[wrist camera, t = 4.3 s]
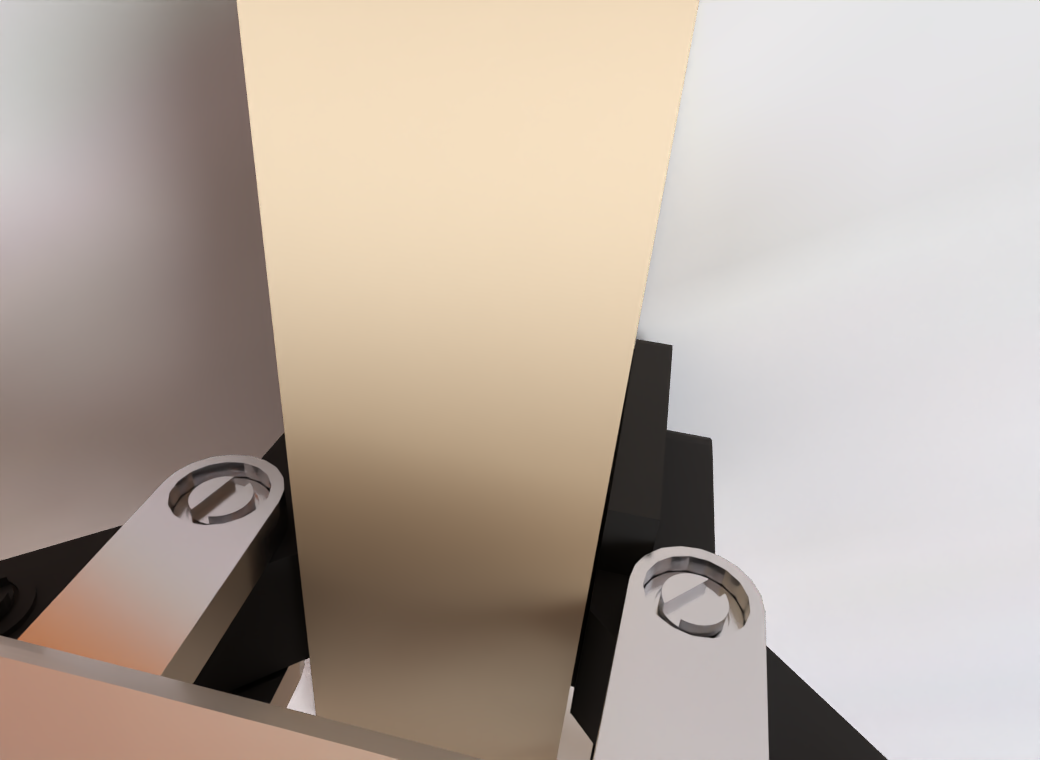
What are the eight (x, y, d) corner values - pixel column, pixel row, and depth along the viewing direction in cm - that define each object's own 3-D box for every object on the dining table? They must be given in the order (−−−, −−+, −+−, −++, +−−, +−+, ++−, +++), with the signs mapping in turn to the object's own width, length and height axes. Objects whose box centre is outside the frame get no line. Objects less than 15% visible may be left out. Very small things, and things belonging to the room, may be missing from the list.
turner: (290, -172, 8) (-133, -301, 4) (930, -122, 7) (1239, -224, 3) (351, 718, 17) (238, 966, 13) (643, 794, 16) (624, 1088, 12)
